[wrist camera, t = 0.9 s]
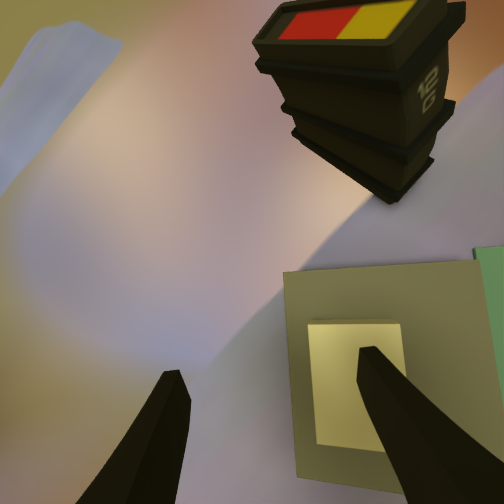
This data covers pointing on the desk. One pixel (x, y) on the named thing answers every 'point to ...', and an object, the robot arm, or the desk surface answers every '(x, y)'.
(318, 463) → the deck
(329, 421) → the tile
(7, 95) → the desk surface
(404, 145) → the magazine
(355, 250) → the desk surface
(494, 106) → the desk surface
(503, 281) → the mat
